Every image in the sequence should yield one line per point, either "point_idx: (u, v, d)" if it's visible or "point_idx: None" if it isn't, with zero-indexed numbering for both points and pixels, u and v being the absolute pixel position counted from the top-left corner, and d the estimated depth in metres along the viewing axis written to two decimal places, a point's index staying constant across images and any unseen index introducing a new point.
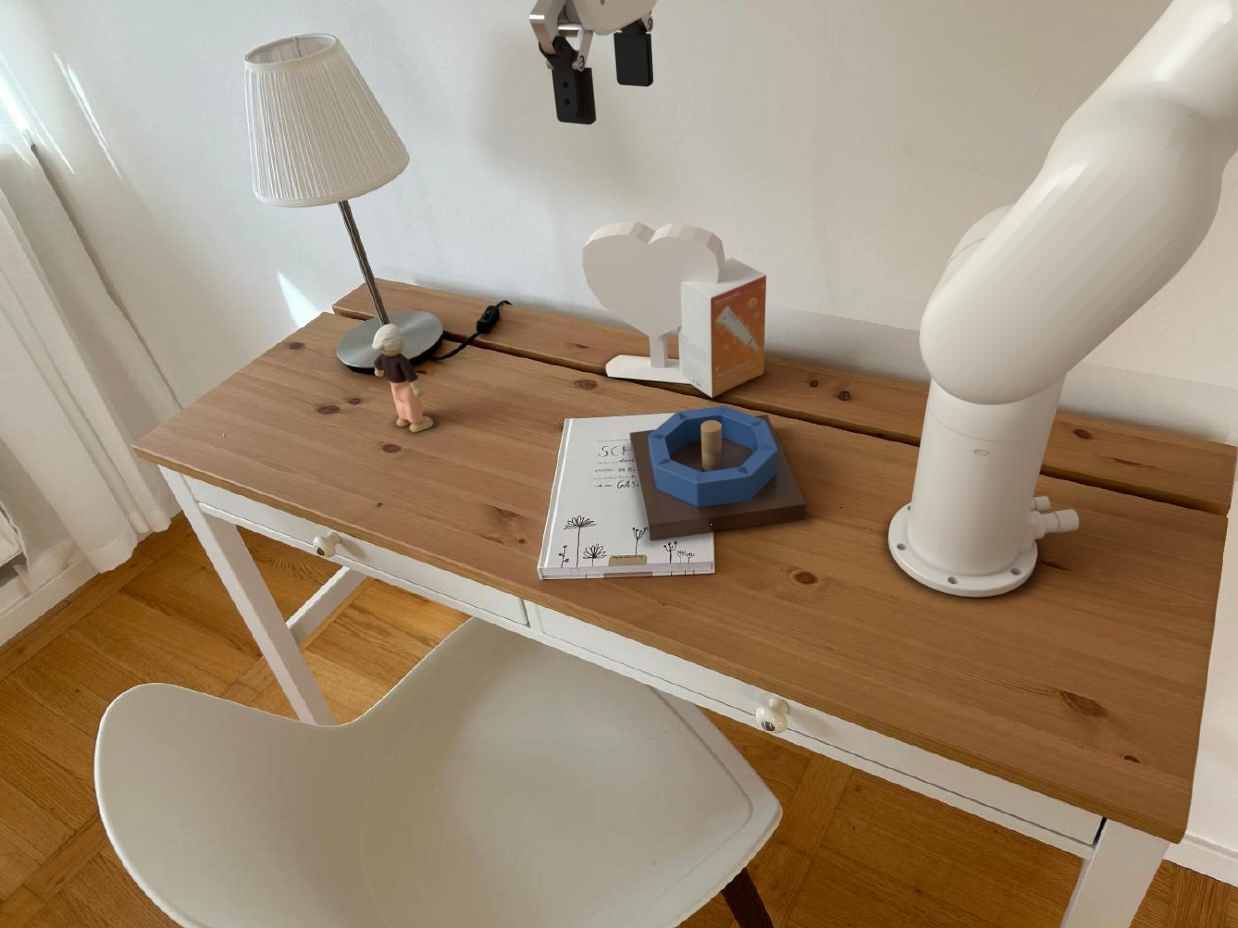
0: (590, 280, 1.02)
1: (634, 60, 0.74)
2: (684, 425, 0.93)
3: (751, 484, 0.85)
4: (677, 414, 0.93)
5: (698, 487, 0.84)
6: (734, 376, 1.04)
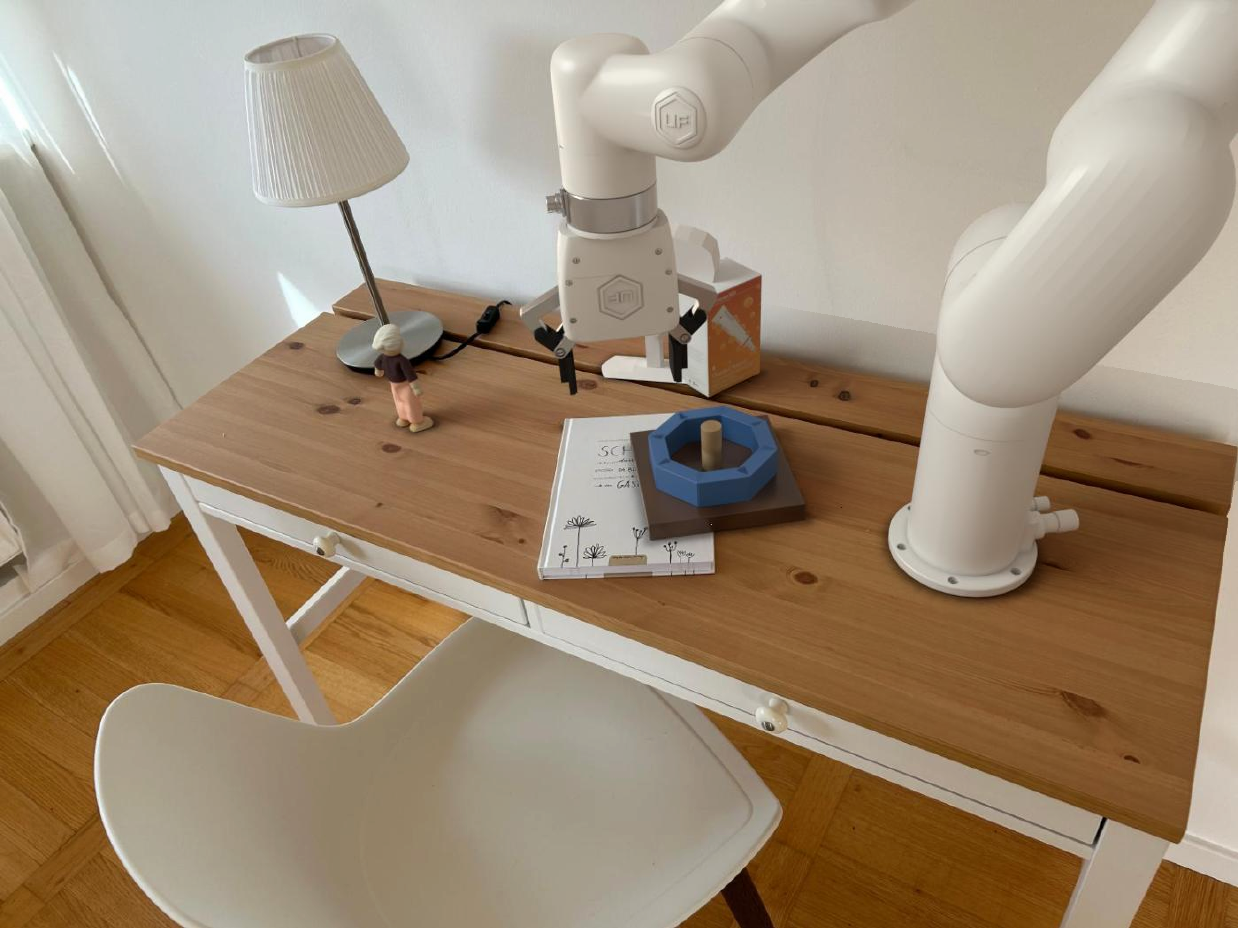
0: None
1: (671, 357, 0.82)
2: (684, 425, 0.93)
3: (751, 484, 0.85)
4: (677, 414, 0.93)
5: (698, 487, 0.84)
6: (730, 376, 1.04)
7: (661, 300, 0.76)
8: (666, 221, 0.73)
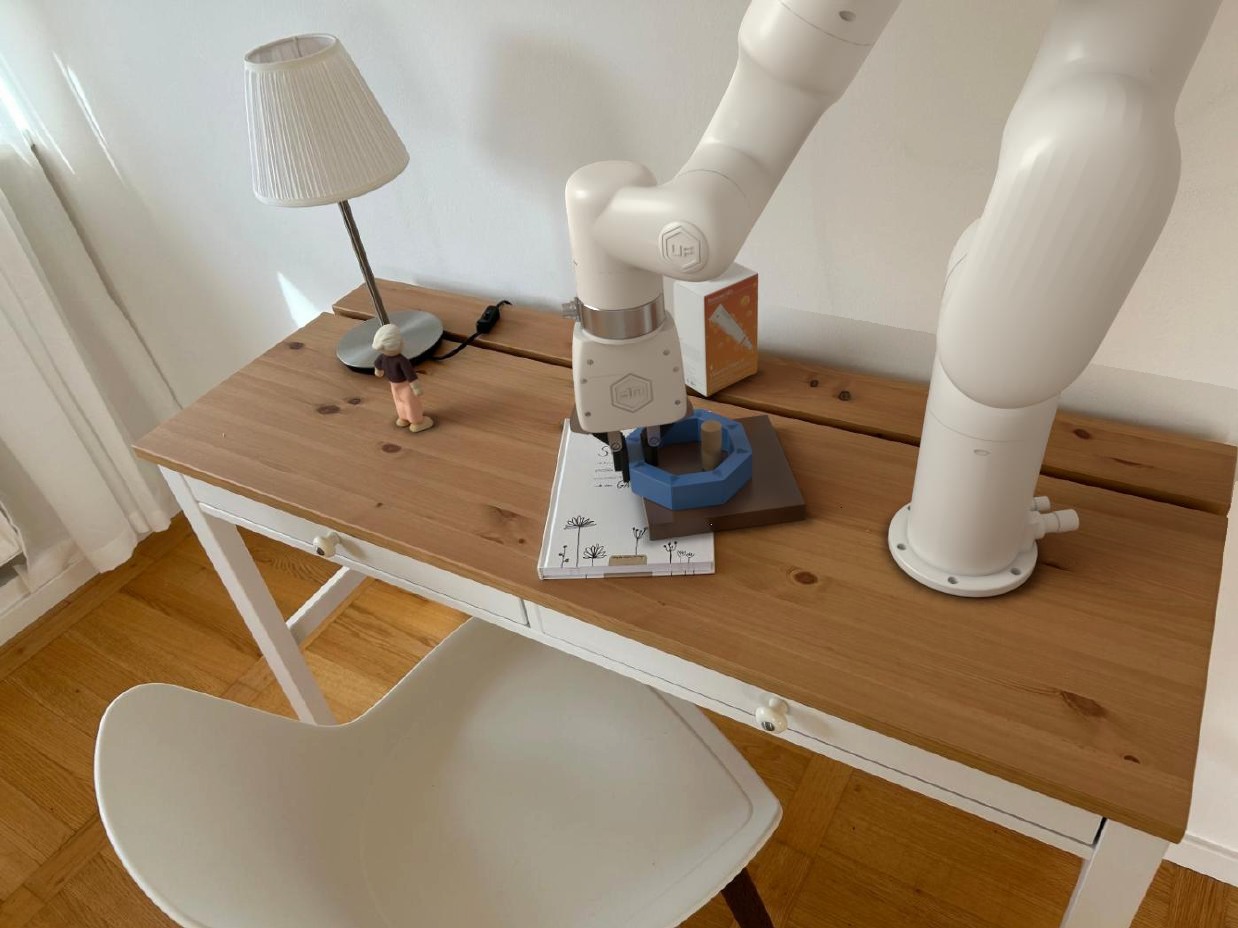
0: None
1: None
2: None
3: (725, 487, 0.85)
4: None
5: (672, 490, 0.84)
6: (728, 375, 1.04)
7: (669, 394, 0.81)
8: (673, 324, 0.79)
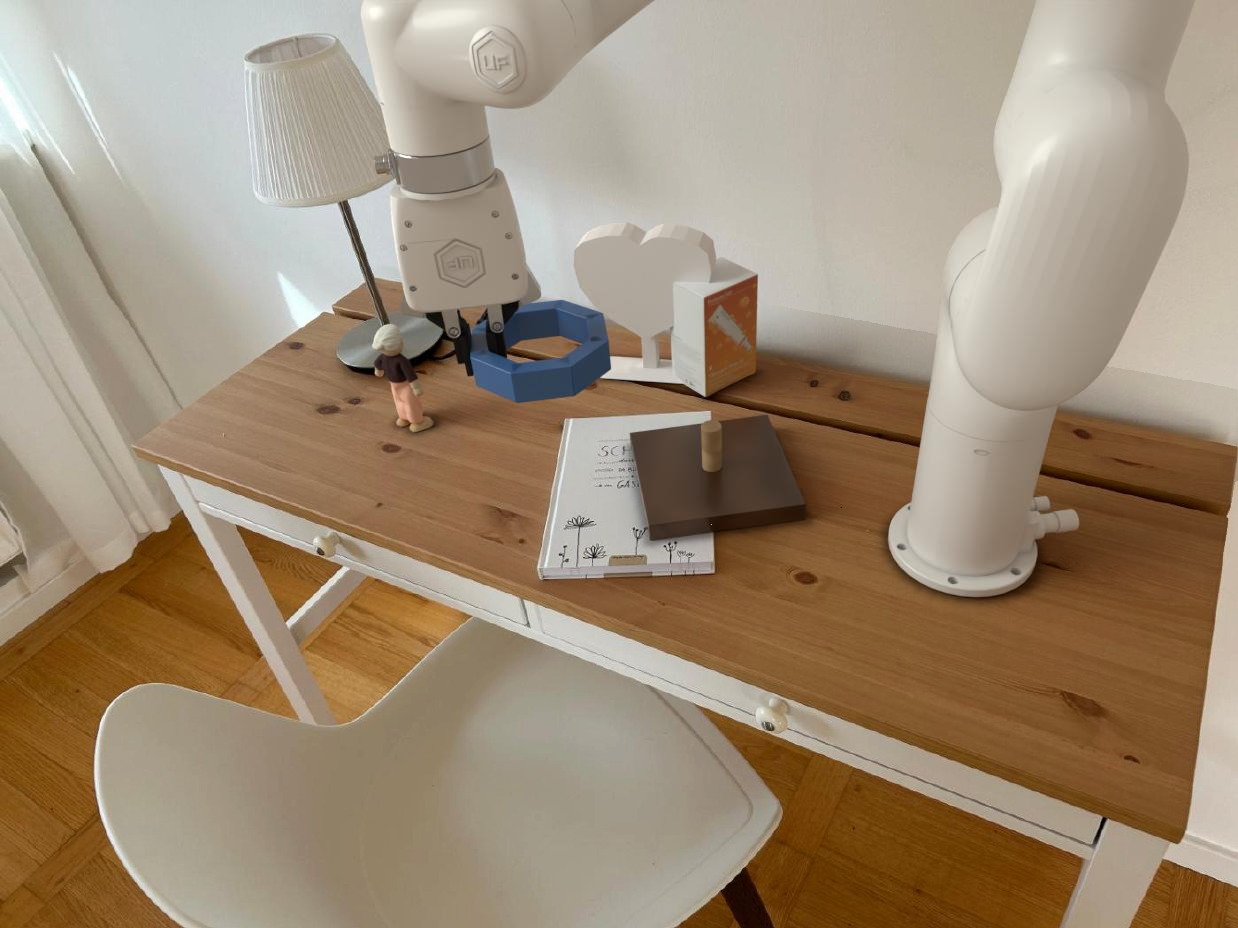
0: (582, 282, 1.02)
1: None
2: (516, 319, 0.83)
3: (574, 376, 0.76)
4: None
5: (513, 378, 0.75)
6: (727, 375, 1.04)
7: (504, 266, 0.72)
8: (502, 182, 0.69)
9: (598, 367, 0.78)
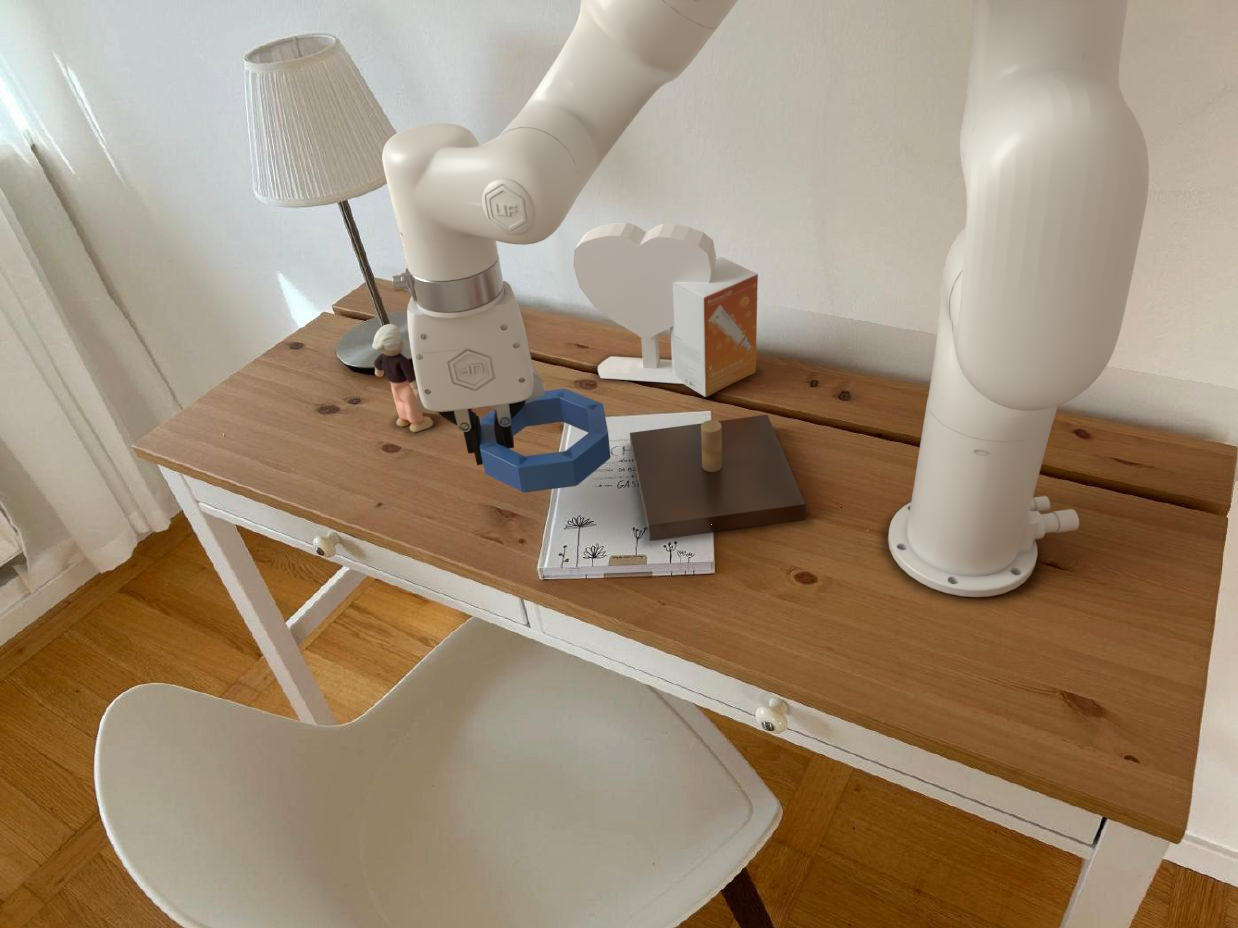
0: (582, 282, 1.02)
1: None
2: (522, 408, 0.89)
3: (576, 468, 0.82)
4: None
5: (520, 471, 0.81)
6: (727, 375, 1.04)
7: (512, 371, 0.78)
8: (510, 298, 0.75)
9: (598, 457, 0.84)
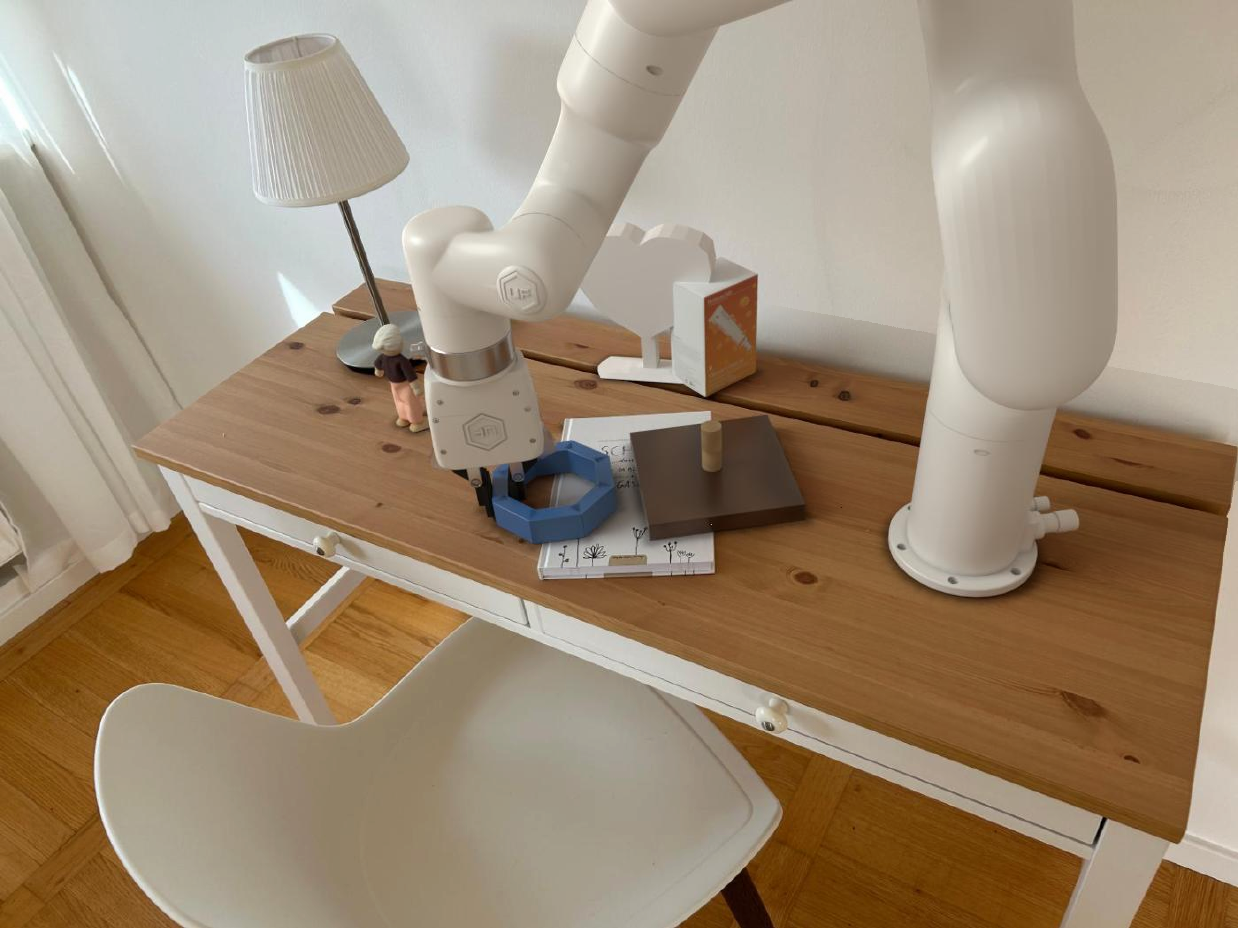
0: (582, 282, 1.02)
1: None
2: None
3: (584, 521, 0.86)
4: None
5: (530, 525, 0.85)
6: (727, 375, 1.04)
7: (523, 433, 0.82)
8: (522, 365, 0.79)
9: (605, 509, 0.88)
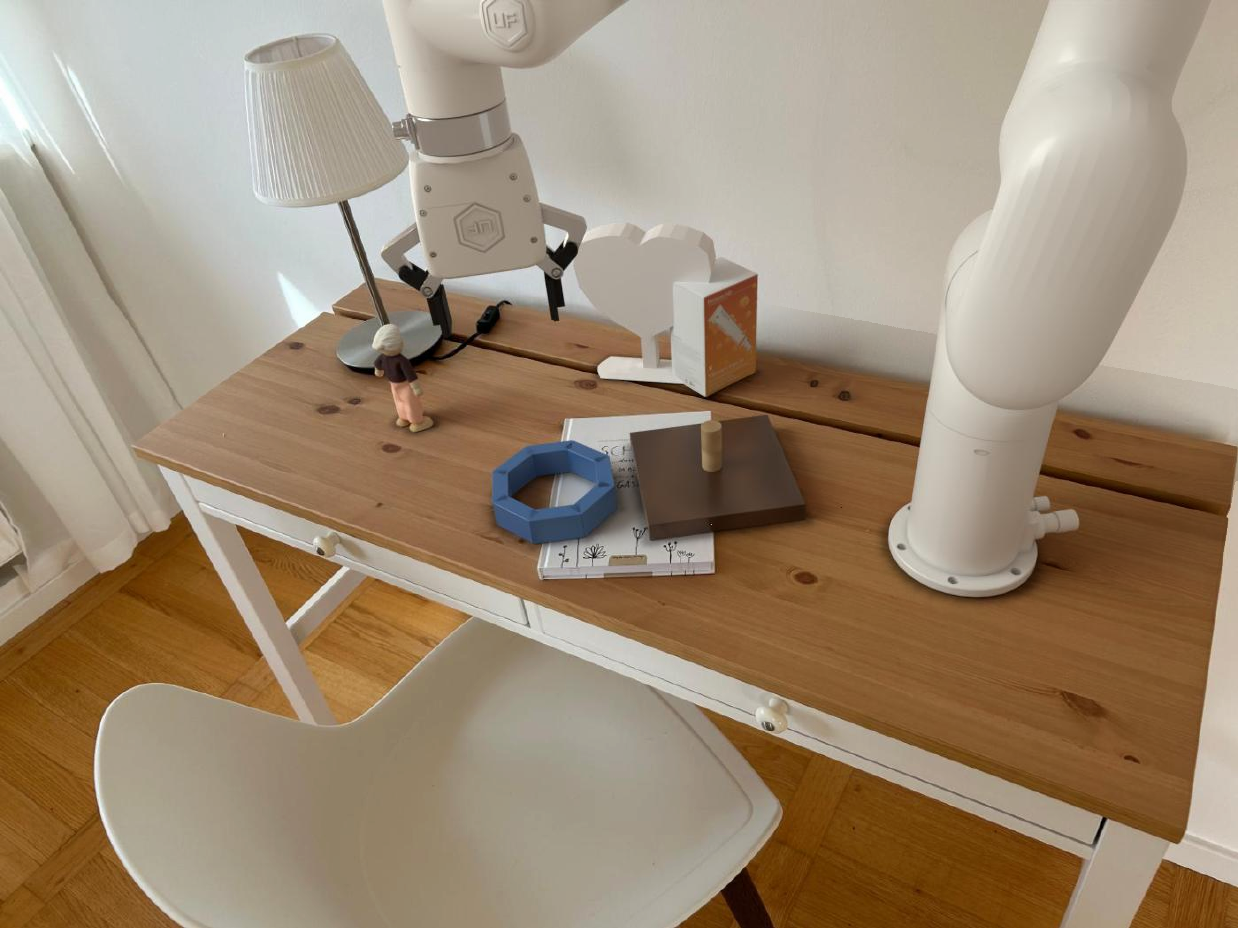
0: (581, 282, 1.02)
1: None
2: (531, 459, 0.93)
3: (584, 521, 0.86)
4: (525, 449, 0.94)
5: (530, 524, 0.85)
6: (727, 375, 1.04)
7: (523, 230, 0.73)
8: (520, 144, 0.70)
9: (605, 509, 0.88)
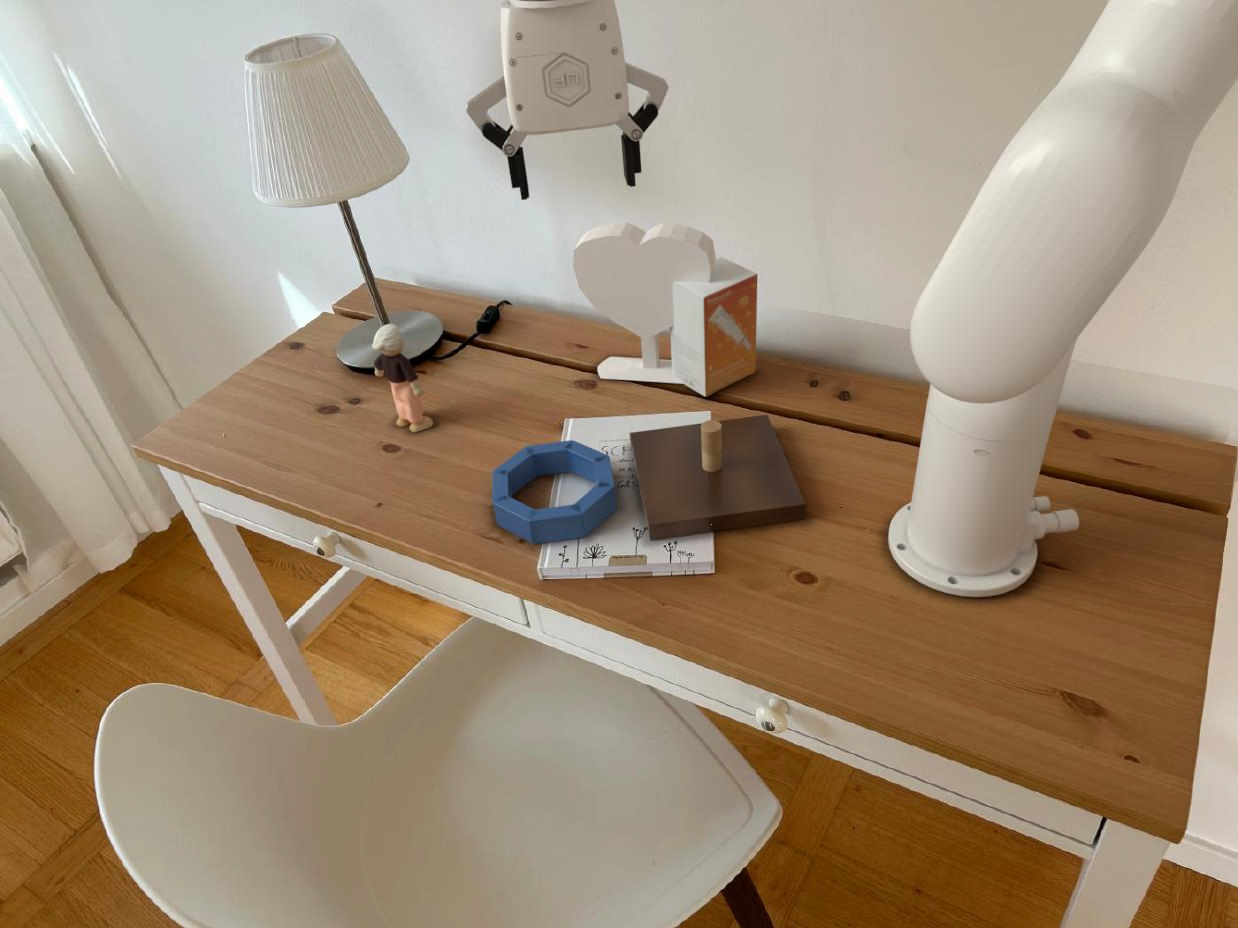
0: (581, 282, 1.02)
1: (624, 160, 0.81)
2: (531, 459, 0.93)
3: (584, 521, 0.86)
4: (525, 449, 0.94)
5: (530, 524, 0.85)
6: (727, 375, 1.04)
7: (608, 84, 0.74)
8: None
9: (605, 509, 0.88)
